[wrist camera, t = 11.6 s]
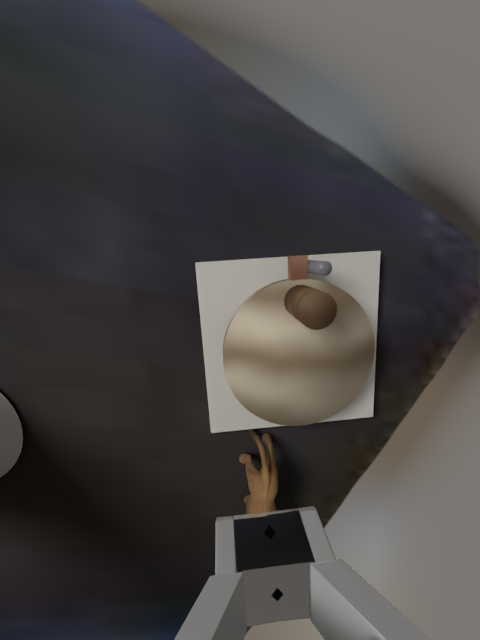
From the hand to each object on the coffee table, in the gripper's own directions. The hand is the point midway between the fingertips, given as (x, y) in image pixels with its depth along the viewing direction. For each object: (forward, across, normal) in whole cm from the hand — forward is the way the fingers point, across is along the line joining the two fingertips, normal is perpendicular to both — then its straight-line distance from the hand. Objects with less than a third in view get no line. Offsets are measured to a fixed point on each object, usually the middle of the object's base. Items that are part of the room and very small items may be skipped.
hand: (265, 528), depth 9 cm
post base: (+24, -6, +2) cm, 25 cm away
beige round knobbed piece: (+21, -7, +1) cm, 22 cm away
